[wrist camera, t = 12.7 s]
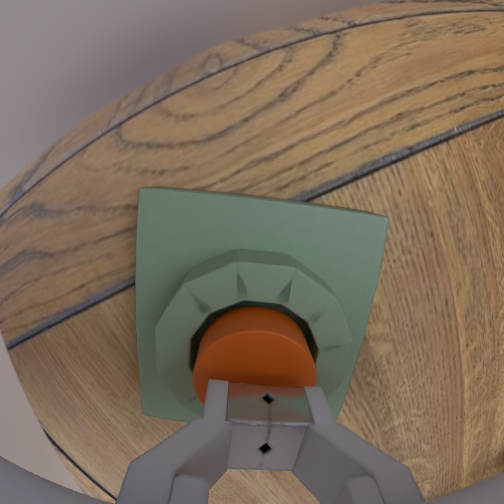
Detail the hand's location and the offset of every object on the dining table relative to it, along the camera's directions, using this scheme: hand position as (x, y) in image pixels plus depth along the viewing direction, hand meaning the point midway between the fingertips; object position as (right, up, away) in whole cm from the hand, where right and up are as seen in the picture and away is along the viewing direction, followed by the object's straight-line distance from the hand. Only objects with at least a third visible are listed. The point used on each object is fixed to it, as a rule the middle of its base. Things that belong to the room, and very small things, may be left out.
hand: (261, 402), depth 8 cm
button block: (0, +1, +6) cm, 6 cm away
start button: (0, +1, +2) cm, 2 cm away
